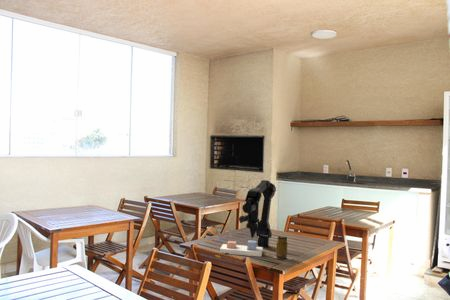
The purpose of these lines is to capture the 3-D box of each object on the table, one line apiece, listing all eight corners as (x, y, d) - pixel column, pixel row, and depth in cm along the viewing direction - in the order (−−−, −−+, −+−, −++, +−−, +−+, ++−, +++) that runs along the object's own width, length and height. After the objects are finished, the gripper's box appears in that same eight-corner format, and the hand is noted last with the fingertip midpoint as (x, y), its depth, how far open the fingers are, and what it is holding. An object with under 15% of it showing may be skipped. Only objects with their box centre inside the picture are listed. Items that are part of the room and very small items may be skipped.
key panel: (262, 251, 233) (262, 247, 233) (261, 256, 222) (261, 252, 222) (222, 248, 237) (223, 243, 237) (219, 253, 225) (219, 248, 225)
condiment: (280, 255, 226) (281, 234, 226) (292, 258, 220) (293, 237, 220) (272, 257, 221) (273, 236, 221) (285, 261, 215) (286, 239, 215)
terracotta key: (236, 248, 232) (236, 241, 232) (235, 250, 227) (235, 243, 227) (227, 247, 233) (228, 240, 233) (226, 249, 228) (227, 242, 228)
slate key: (256, 247, 230) (256, 240, 230) (255, 249, 226) (256, 242, 226) (247, 246, 231) (248, 240, 231) (247, 249, 226) (247, 242, 226)
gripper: (241, 207, 239) (240, 233, 239) (238, 212, 220) (236, 240, 220) (259, 209, 237) (258, 234, 237) (257, 214, 219) (256, 241, 219)
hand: (252, 237), depth 228 cm, fingers closed
